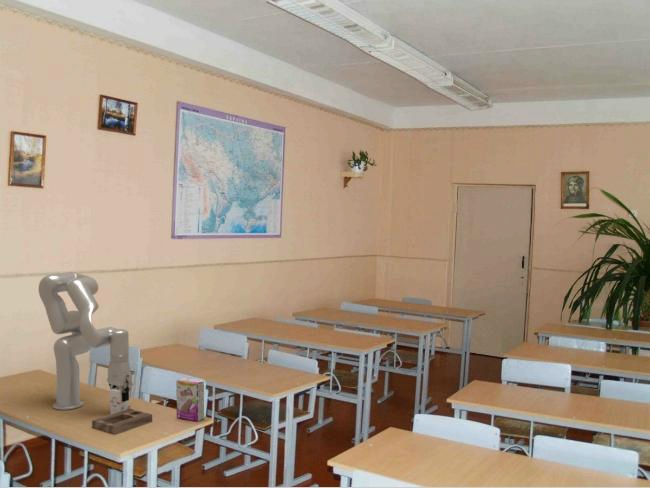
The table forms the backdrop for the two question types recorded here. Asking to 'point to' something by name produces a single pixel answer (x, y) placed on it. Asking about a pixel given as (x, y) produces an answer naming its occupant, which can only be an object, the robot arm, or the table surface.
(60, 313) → the robot arm
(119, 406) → the ink cartridge box
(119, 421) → the socket holder
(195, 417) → the candy bar box
